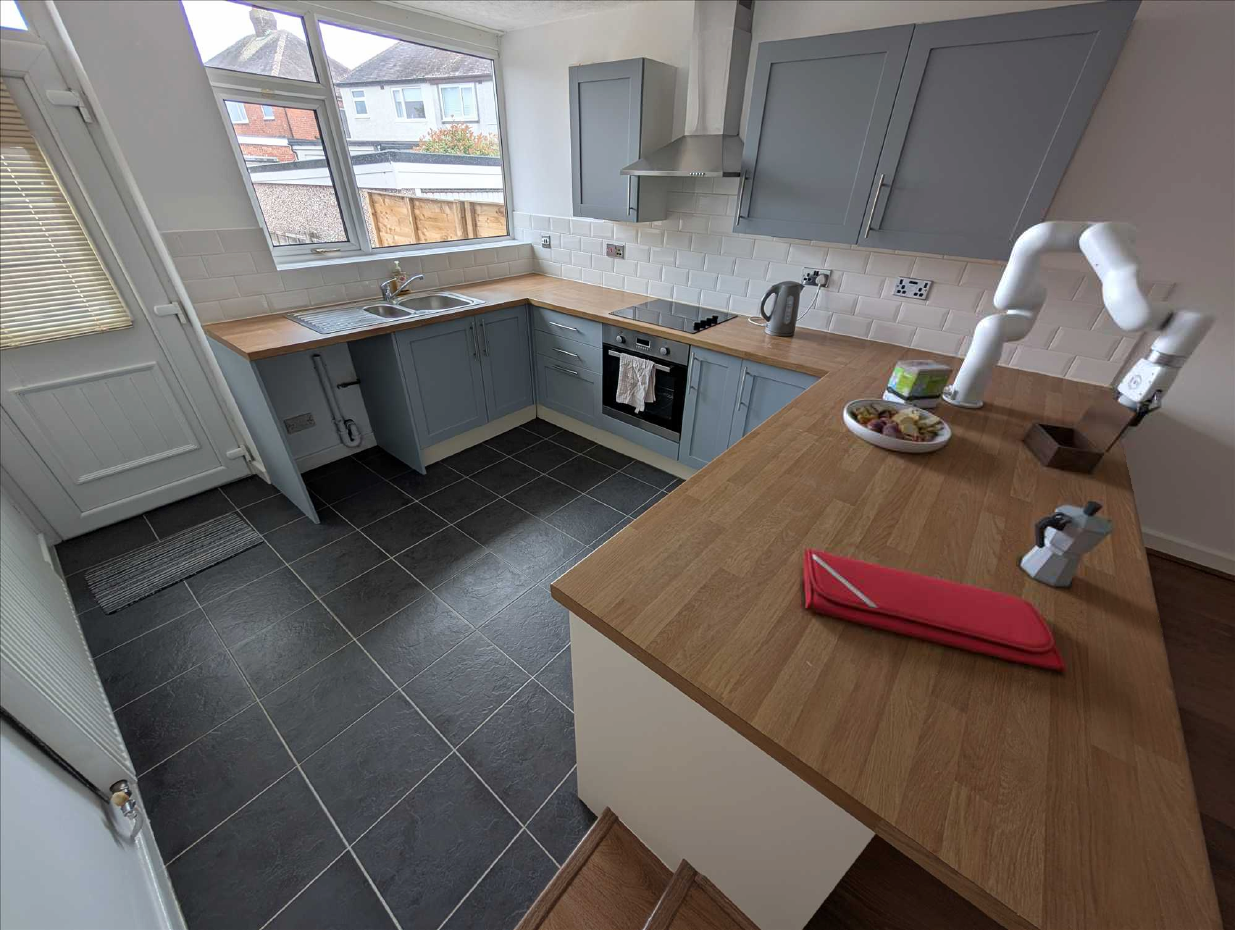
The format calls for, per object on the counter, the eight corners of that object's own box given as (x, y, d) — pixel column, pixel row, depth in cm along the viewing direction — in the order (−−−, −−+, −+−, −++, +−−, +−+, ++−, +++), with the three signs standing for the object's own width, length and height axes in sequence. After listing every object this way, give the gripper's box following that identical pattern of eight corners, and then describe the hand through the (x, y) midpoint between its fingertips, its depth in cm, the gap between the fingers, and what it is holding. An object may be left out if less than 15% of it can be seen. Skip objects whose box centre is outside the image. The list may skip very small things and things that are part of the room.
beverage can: (1096, 426, 139) (1122, 389, 133) (1125, 434, 136) (1152, 396, 130) (1097, 434, 135) (1124, 396, 129) (1126, 442, 132) (1155, 403, 125)
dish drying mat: (1062, 677, 78) (1075, 663, 76) (805, 613, 87) (810, 599, 85) (1022, 605, 91) (1033, 592, 89) (801, 556, 100) (806, 543, 98)
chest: (1046, 466, 137) (1058, 446, 134) (1022, 440, 150) (1033, 421, 147) (1091, 473, 135) (1105, 454, 131) (1063, 446, 148) (1075, 428, 144)
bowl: (847, 404, 167) (855, 383, 163) (944, 428, 155) (955, 406, 150) (832, 438, 145) (840, 415, 141) (944, 469, 133) (956, 445, 128)
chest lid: (1134, 413, 124) (1137, 414, 124) (1100, 390, 138) (1103, 391, 137) (1104, 452, 131) (1107, 453, 131) (1075, 426, 144) (1077, 427, 144)
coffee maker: (1056, 557, 103) (1106, 490, 94) (1091, 588, 96) (1149, 519, 86) (991, 556, 103) (1034, 489, 93) (1021, 587, 95) (1072, 517, 86)
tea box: (902, 411, 164) (918, 370, 156) (881, 398, 172) (896, 360, 165) (936, 407, 168) (954, 368, 160) (914, 396, 176) (930, 358, 168)
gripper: (1128, 346, 131) (1089, 405, 141) (1170, 368, 117) (1124, 431, 127) (1160, 350, 130) (1119, 409, 139) (1207, 372, 115) (1157, 436, 125)
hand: (1121, 419), depth 133 cm, fingers closed on beverage can, 6 cm apart
